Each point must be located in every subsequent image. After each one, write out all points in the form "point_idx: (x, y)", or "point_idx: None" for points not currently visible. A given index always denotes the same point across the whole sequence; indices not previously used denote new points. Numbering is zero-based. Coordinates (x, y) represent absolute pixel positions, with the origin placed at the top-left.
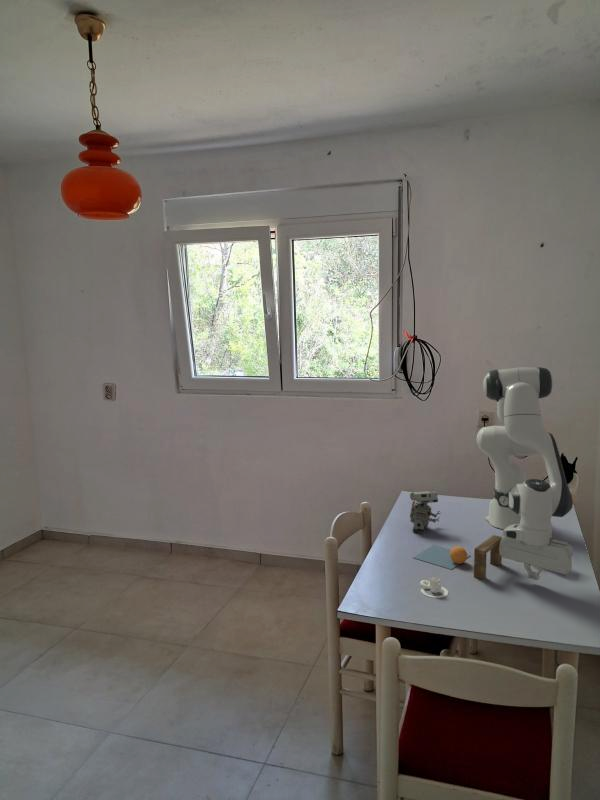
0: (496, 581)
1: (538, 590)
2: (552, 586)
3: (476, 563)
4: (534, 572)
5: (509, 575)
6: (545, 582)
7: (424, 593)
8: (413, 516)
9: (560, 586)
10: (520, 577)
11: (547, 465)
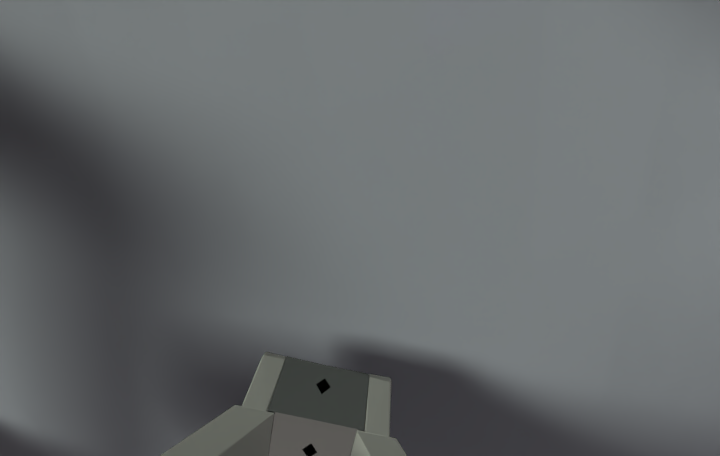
0: (34, 415)
1: (400, 441)
2: (537, 322)
3: None
4: (316, 436)
5: (56, 254)
6: (458, 258)
7: None
8: None
9: (635, 288)
10: (173, 252)
11: None
